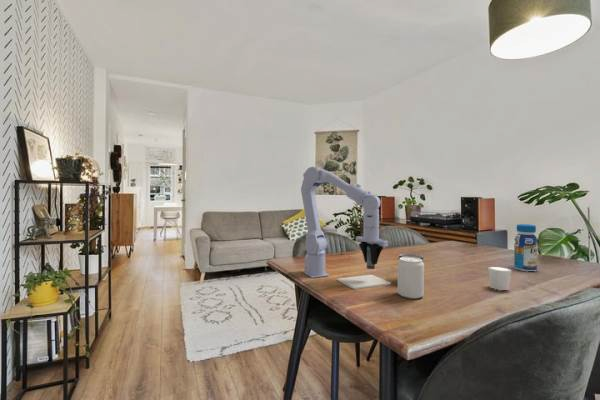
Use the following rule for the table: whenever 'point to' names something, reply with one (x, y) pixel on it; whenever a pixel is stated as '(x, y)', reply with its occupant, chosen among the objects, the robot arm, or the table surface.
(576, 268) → the table surface
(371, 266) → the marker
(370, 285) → the paper pad
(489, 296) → the table surface
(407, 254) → the coffee mug
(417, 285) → the beverage can
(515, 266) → the blue supplement bottle
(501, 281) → the white cylinder
